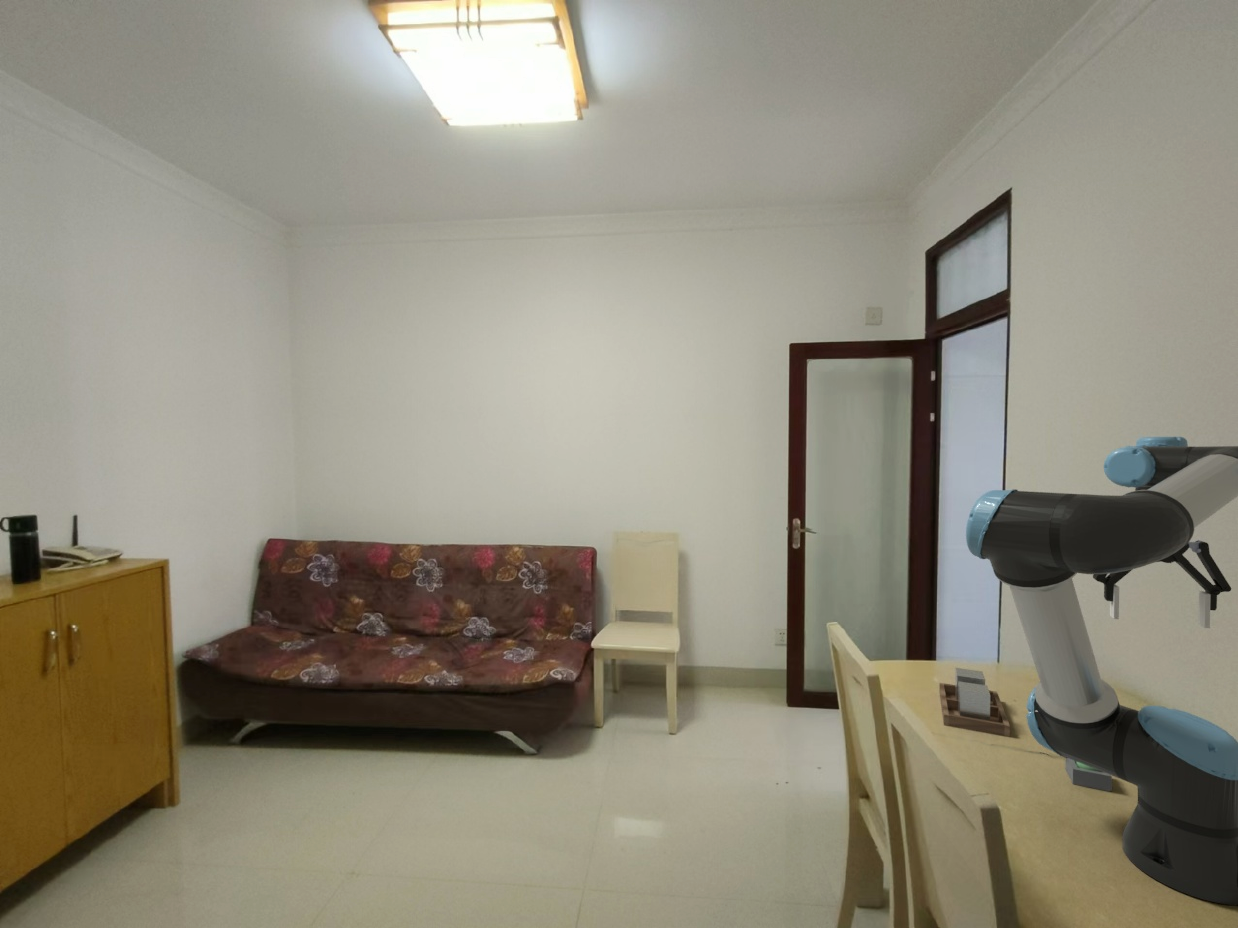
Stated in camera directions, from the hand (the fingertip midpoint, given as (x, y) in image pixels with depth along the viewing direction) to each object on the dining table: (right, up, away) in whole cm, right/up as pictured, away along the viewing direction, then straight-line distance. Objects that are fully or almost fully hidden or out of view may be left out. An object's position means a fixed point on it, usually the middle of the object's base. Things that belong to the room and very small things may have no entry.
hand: (1157, 621), depth 115 cm
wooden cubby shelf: (-20, -31, +28) cm, 46 cm away
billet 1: (-18, -30, +33) cm, 48 cm away
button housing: (-13, -32, +1) cm, 34 cm away
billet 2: (-22, -30, +24) cm, 44 cm away
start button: (-13, -31, +1) cm, 34 cm away
